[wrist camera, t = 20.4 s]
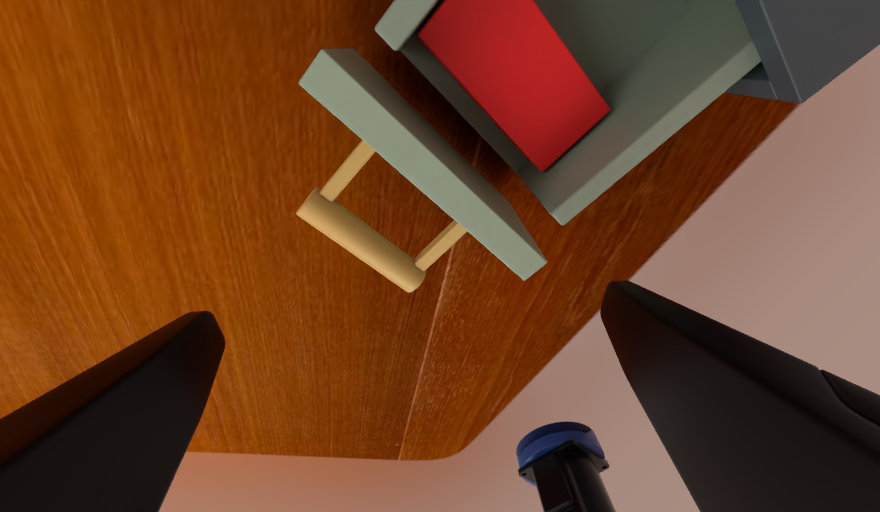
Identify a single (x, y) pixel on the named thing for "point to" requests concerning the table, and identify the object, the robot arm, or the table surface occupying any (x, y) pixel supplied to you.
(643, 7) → the drawer
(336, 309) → the table surface
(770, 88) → the cabinet
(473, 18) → the red rectangular block
